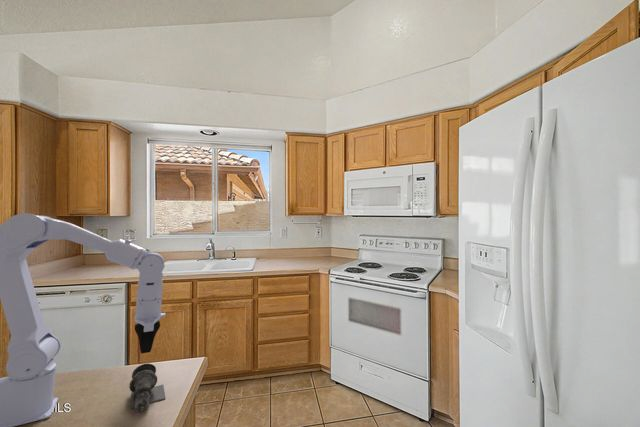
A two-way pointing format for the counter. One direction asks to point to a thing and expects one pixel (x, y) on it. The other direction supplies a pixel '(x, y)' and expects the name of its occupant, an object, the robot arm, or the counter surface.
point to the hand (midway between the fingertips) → (145, 351)
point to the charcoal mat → (152, 395)
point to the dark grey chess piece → (143, 385)
